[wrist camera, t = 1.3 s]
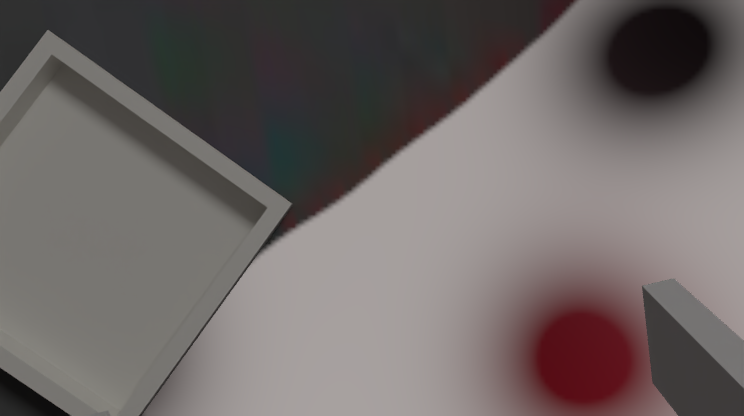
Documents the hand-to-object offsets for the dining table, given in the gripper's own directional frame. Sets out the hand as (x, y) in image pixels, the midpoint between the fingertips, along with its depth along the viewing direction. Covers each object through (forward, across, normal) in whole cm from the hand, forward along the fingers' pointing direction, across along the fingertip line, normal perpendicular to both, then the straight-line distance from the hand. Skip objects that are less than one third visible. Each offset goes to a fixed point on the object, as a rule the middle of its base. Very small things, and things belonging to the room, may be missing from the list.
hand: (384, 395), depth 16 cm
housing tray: (+25, -16, -2) cm, 30 cm away
